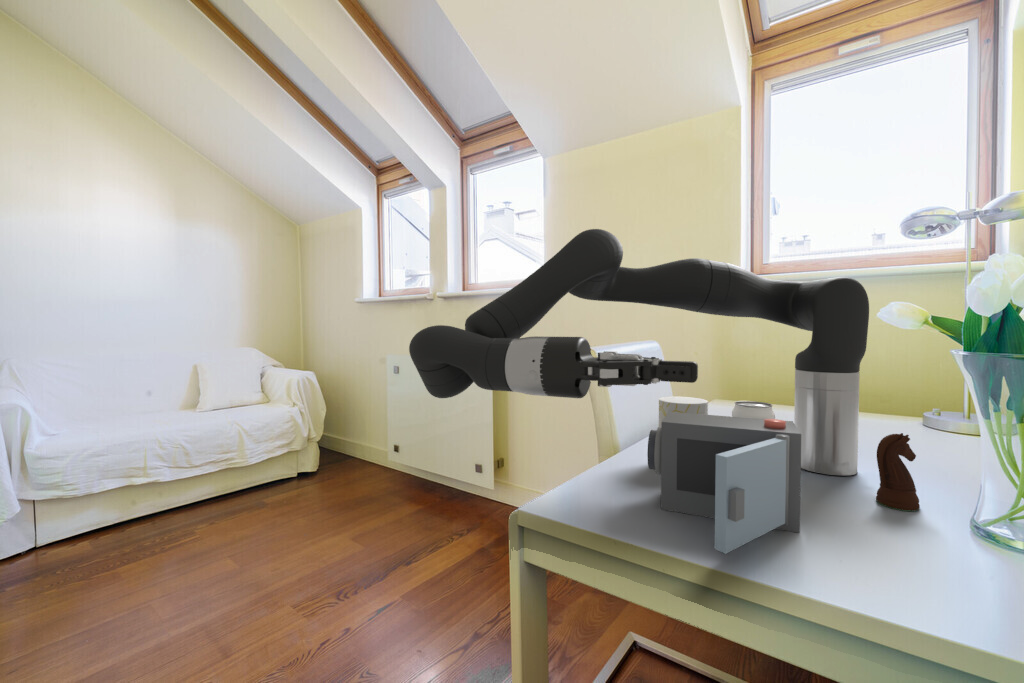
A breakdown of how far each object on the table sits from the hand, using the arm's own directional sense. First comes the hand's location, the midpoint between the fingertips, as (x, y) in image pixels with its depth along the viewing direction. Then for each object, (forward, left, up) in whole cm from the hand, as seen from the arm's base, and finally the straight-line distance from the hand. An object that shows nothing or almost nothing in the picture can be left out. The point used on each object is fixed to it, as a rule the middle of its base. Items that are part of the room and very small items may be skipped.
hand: (697, 372), depth 48 cm
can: (-31, +12, -20) cm, 39 cm away
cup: (-32, +1, -20) cm, 37 cm away
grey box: (-14, +5, -20) cm, 25 cm away
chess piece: (-22, +28, -20) cm, 41 cm away
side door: (-3, +7, -19) cm, 20 cm away
